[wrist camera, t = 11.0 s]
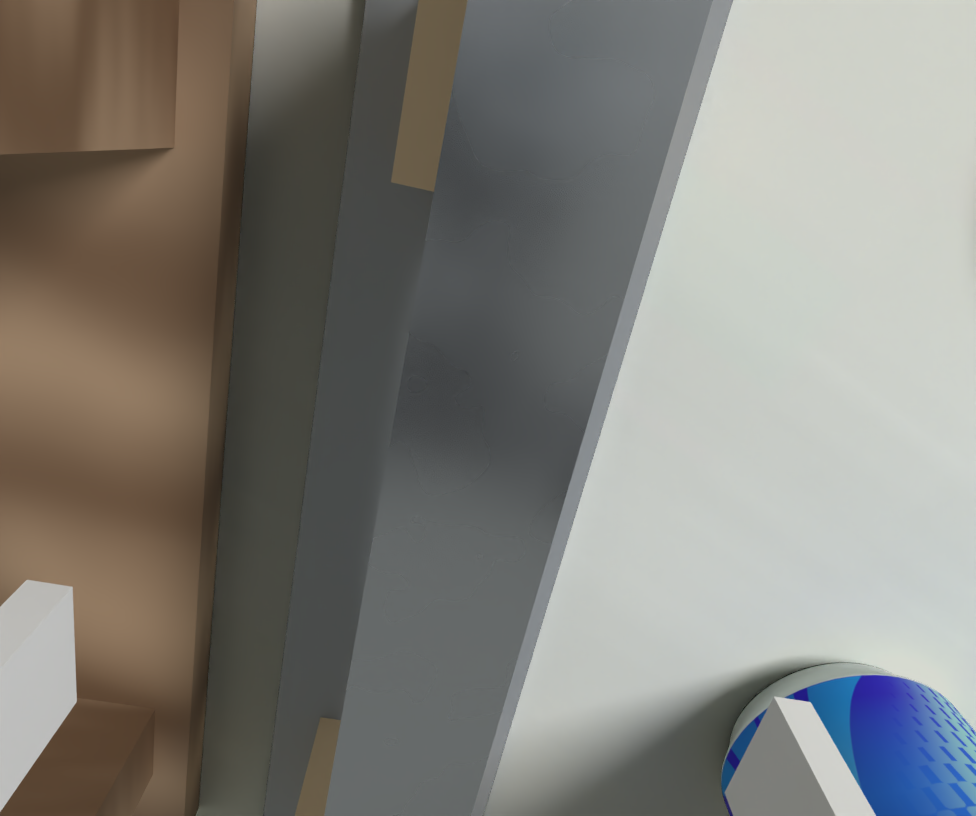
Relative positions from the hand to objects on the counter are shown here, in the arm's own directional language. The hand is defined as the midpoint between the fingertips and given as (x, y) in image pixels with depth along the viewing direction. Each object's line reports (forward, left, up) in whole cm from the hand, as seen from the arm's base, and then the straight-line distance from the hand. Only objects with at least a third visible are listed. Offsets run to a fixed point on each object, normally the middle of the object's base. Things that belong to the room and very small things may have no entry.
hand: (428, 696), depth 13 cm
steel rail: (0, 0, -4) cm, 4 cm away
